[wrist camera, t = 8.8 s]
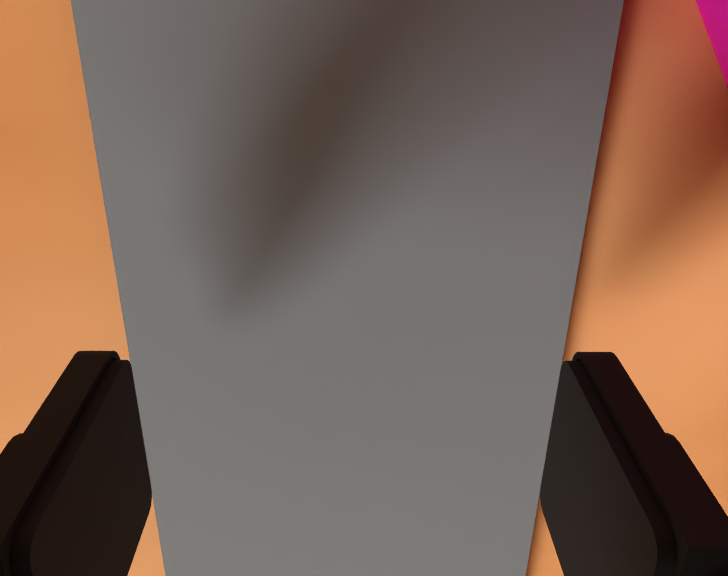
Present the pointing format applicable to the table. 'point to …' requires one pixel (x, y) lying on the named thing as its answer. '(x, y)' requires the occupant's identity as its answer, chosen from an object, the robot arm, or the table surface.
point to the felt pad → (346, 267)
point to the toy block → (717, 29)
